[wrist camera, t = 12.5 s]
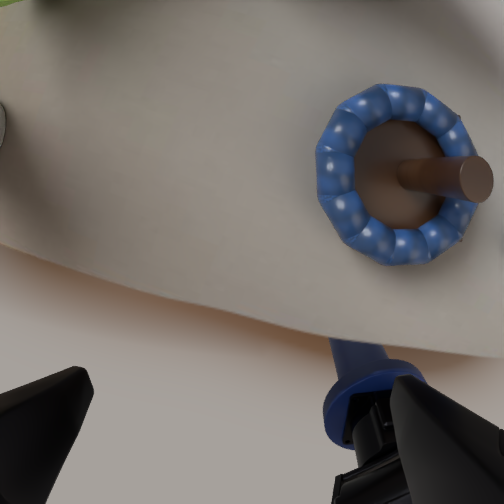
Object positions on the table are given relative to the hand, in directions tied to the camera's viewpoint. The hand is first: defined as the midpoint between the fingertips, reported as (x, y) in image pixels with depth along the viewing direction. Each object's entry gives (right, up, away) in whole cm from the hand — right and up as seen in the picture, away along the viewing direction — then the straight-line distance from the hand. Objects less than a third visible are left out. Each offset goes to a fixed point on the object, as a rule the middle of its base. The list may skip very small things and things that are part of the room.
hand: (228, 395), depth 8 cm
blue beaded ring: (+9, +8, +7) cm, 14 cm away
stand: (+10, +9, +9) cm, 16 cm away
